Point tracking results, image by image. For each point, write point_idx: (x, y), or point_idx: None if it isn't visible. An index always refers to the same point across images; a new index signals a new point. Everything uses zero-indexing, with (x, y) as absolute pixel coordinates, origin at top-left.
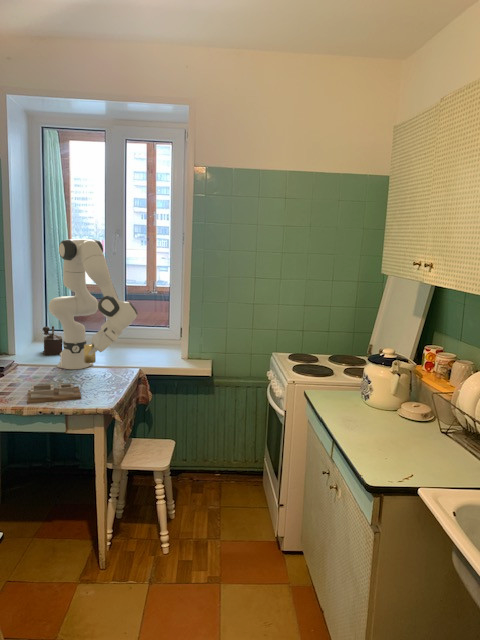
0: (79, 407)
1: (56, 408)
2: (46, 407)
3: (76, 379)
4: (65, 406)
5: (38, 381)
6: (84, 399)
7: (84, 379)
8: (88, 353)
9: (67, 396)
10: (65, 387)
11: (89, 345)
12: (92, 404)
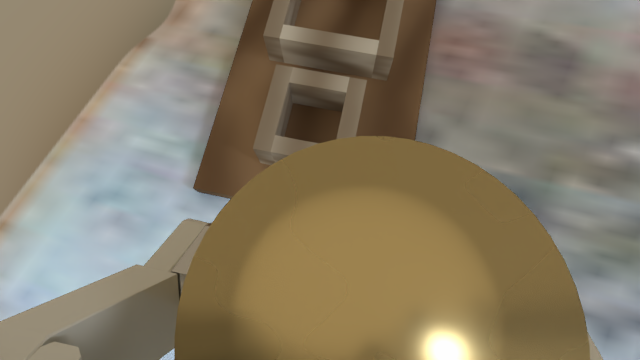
0: (76, 147)
1: (133, 51)
2: (174, 18)
3: (620, 278)
4: (134, 92)
5: (635, 61)
6: (182, 206)
7: (605, 332)
8: (185, 224)
9: (235, 120)
10: (282, 103)
11: (331, 302)
12: (75, 221)
